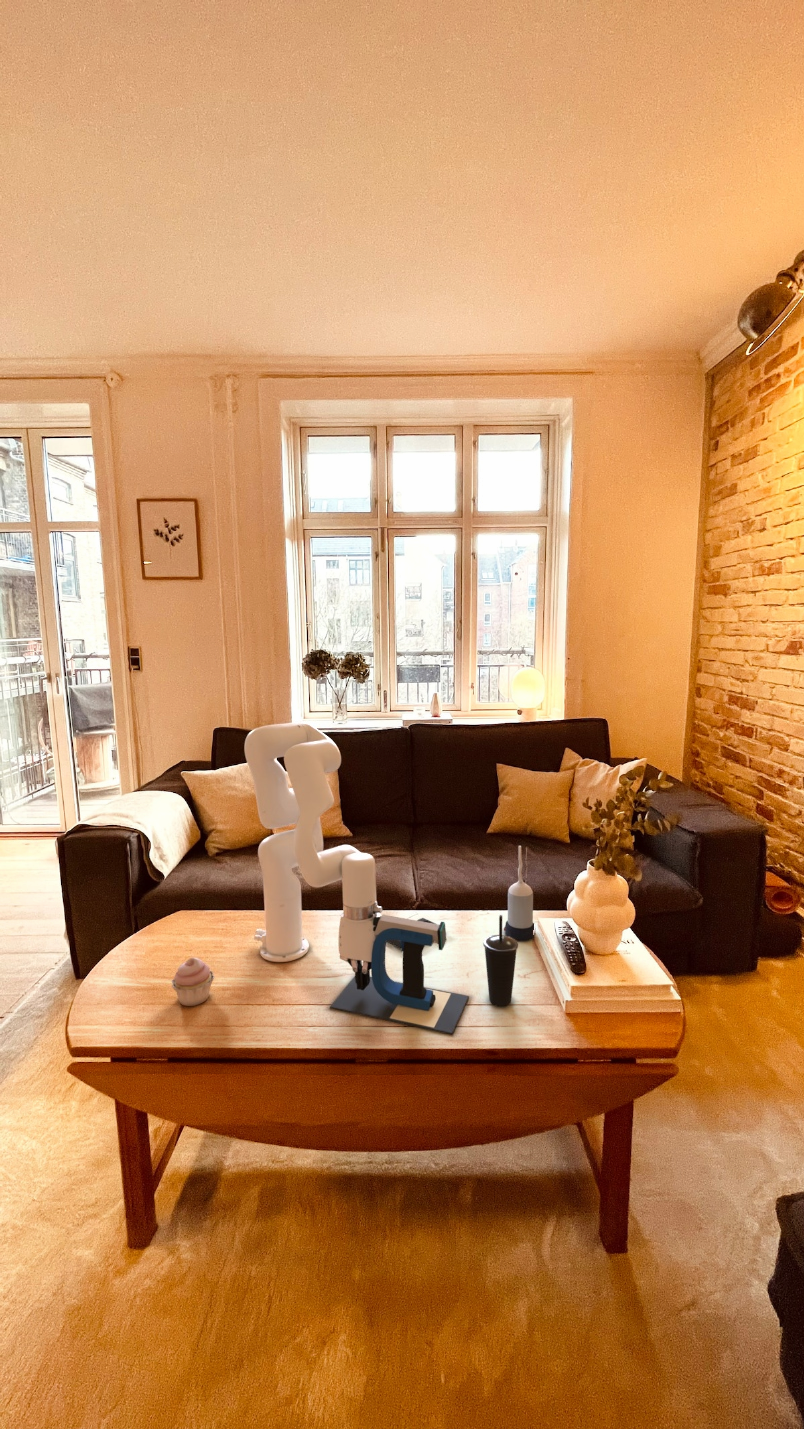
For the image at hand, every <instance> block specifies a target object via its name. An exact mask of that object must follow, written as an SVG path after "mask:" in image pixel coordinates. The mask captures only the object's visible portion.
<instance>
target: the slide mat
mask: <svg viewBox="0 0 804 1429" xmlns="http://www.w3.org/2000/svg"><path fill="white" fill-rule="evenodd" d="M395 982H396V983H399V984H403V982H400V981H395ZM424 988H425V989H428V990H432V991H433V995H435V997H436V1000H435V1003H434V1005H433V1006H432V1007H430V1009H429V1011H425V1010H420V1009H416V1008H411V1007H406V1006H401V1005H397V1004H393V1003H390V1002H388V1001H387V1000H385V999H384V998H383V997H381V996H380V994H379V993H378V992H377V991H376V989H375V987H374V985H373V981H372V976H370V983H369V985H367V987H366V988H365V989H364V990H361V989H359V990H358V989H357V983H355V975H354V976H353V977H352V979H351V980H350V981H349V982H348V984H347V985H346V986H345V987H344V988H343V990H342V991H341V992H340V994H339V995H338V996H337V997H336V998H335V999H334V1001H333V1002H332V1003H331V1004H330V1006H329V1009H332V1010H337V1011H341V1012H346V1013H351V1014H355V1015H360V1016H364V1017H370V1018H374V1019H378V1020H382V1021H387V1022H392V1023H395V1024H401V1025H404V1026H405V1025H406V1026H410V1027H415V1028H421V1029H424V1030H429V1031H433V1032H438V1033H443V1034H446V1035H453V1034H454V1031H455V1029H456V1027H457V1025H458V1022H459V1021H460V1019H461V1016H462V1013H463V1012H464V1009H465V1008H466V1004H467V1002H468V1000H469V998H470V996H469V995H467V994H462V993H455V992H452V991H447V990H442V989H441V990H440V989H435V988H431V987H425V986H424Z"/></svg>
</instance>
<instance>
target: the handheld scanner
mask: <svg viewBox="0 0 804 1429" xmlns="http://www.w3.org/2000/svg"><path fill="white" fill-rule="evenodd" d="M433 923H434V922H433ZM433 923H427V922H422V921H416V920H415V919H410V918H405V917H399V916H393V915H388V914H382V915H381V917H374V919H373V925H374V926H375V927H374V928H373V931H375V933H374V935H377V937H376V939H375V941H374V944H373V949H372V958H371V969H370V975H371V977H372V981H373V985H374V987H375V989H376V991H377V992H378V993H379V994H380V996H381V997H383V998H384V999H385V1000H387V1001H388V1002H390V1003H393V1004H397V1005H401V1006H406V1007H411V1008H416V1009H420V1010H425V1011H429V1009H430V1007H432V1006H433V1005H434V1003H435V1000H436V997H435V995H433V991H432V990H428V989H425V988H426V987H425V966H424V962H423V951H424V949H425V947H432V946H433V943H435V944H437V945H438V946H437V948H438V950H439V951H443V949H444V947H445V946H446V942H447V932H446V931H447V929H446V923H445V921H440V923H439V924H438V923H436V924H433ZM388 940H399V941H401V950H400V951H401V952H402V983H403V984H399V983H400V982H399V983H396V982H397V981H394V979H392V978H391V977H390V976H389V975H388V973H387V968H386V952H385V950H387V948H386V947H387V941H388ZM384 961H385V963H384ZM383 963H384V964H383ZM424 987H425V988H424Z"/></svg>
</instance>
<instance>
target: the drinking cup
mask: <svg viewBox="0 0 804 1429" xmlns="http://www.w3.org/2000/svg"><path fill="white" fill-rule="evenodd" d="M498 916H499V917H498V925H499V926H498V934H493V935H489V936H487V937H485V938H484V939H483V941H482V944H483V947H484V955H485V967H486V975H487V976H486V977H487V978H486V979H487V989H488V1001H489V1003H490V1004H491V1005H493V1006H494V1007H499V1008H505V1007H508V1006H510V1005H511V1003H512V999H513V998H512V997H513V988H514V987H513V986H514V978H515V970H516V969H515V968H516V960H517V950H518V948H519V941H516V940H515V939H513V938H511V937H509V936H506V934H505V935H504V934H503V915H502V914H499V915H498Z"/></svg>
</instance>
